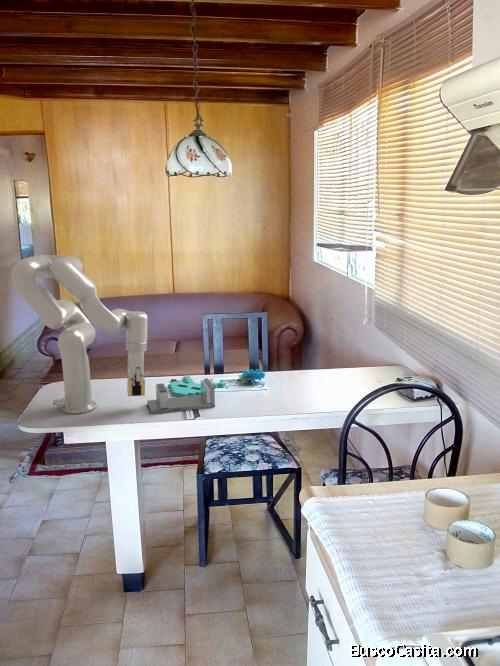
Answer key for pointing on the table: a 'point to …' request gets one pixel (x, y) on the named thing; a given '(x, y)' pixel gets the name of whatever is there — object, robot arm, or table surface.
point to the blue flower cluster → (251, 376)
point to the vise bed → (187, 400)
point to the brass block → (130, 383)
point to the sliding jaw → (162, 396)
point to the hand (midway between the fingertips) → (135, 392)
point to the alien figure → (189, 387)
